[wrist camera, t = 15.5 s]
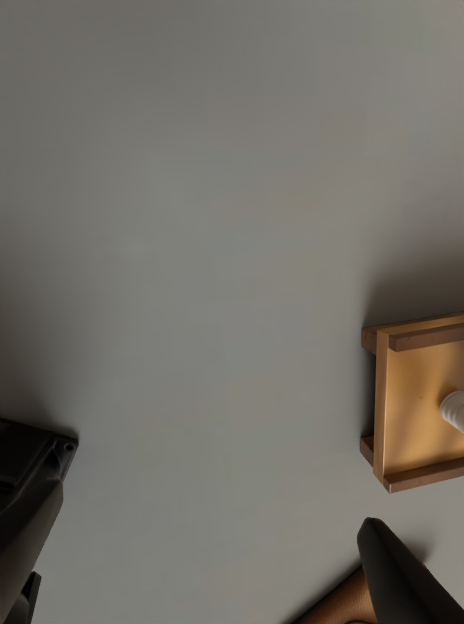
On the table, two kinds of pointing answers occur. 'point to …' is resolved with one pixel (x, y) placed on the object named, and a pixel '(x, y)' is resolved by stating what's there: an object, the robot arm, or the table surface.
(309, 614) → the sunglasses case
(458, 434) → the brown wooden tray
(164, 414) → the table surface
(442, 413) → the light bulb
